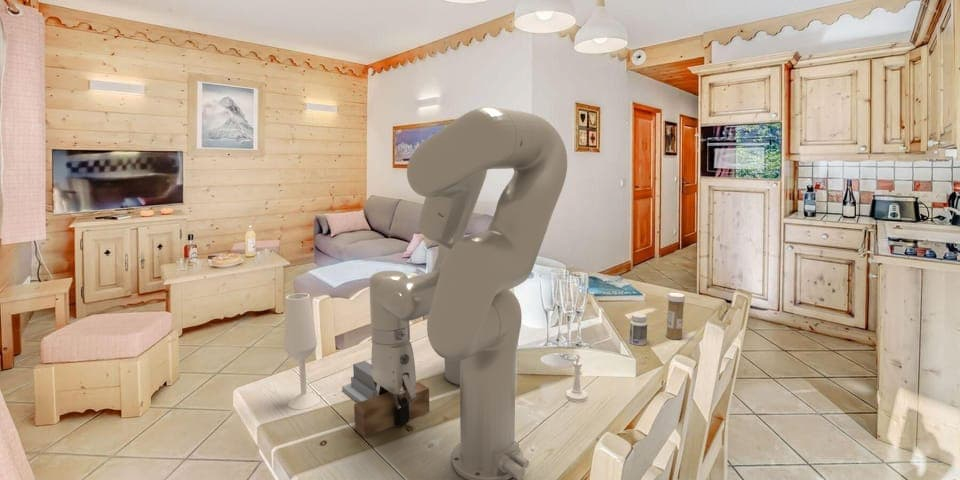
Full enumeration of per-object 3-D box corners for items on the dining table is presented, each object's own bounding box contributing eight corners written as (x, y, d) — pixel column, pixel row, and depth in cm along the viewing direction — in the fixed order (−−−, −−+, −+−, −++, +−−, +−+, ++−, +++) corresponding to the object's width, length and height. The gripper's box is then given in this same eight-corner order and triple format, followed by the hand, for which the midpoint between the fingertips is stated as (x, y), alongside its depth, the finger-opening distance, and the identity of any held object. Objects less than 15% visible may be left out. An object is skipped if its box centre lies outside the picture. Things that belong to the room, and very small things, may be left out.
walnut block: (419, 405, 104) (418, 381, 103) (429, 412, 101) (429, 388, 100) (355, 429, 95) (354, 404, 94) (364, 438, 92) (363, 412, 91)
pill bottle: (649, 343, 139) (651, 315, 138) (638, 346, 137) (640, 318, 135) (636, 338, 143) (638, 311, 142) (625, 341, 141) (627, 314, 139)
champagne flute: (325, 394, 109) (319, 292, 105) (312, 409, 102) (305, 301, 98) (297, 393, 109) (290, 291, 105) (282, 408, 103) (274, 300, 99)
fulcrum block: (399, 397, 107) (399, 372, 106) (367, 410, 102) (366, 383, 101) (373, 380, 116) (372, 356, 115) (342, 390, 111) (341, 365, 110)
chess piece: (590, 395, 108) (592, 353, 107) (582, 404, 104) (584, 360, 103) (570, 389, 111) (571, 348, 109) (561, 398, 107) (562, 355, 105)
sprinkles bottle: (683, 340, 142) (686, 296, 139) (667, 339, 142) (670, 295, 140) (679, 335, 146) (682, 292, 144) (664, 334, 147) (666, 291, 145)
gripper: (431, 340, 91) (433, 428, 94) (384, 319, 104) (387, 396, 107) (397, 350, 86) (400, 443, 89) (353, 326, 99) (356, 408, 102)
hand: (393, 416), depth 98 cm, fingers open, 5 cm apart
